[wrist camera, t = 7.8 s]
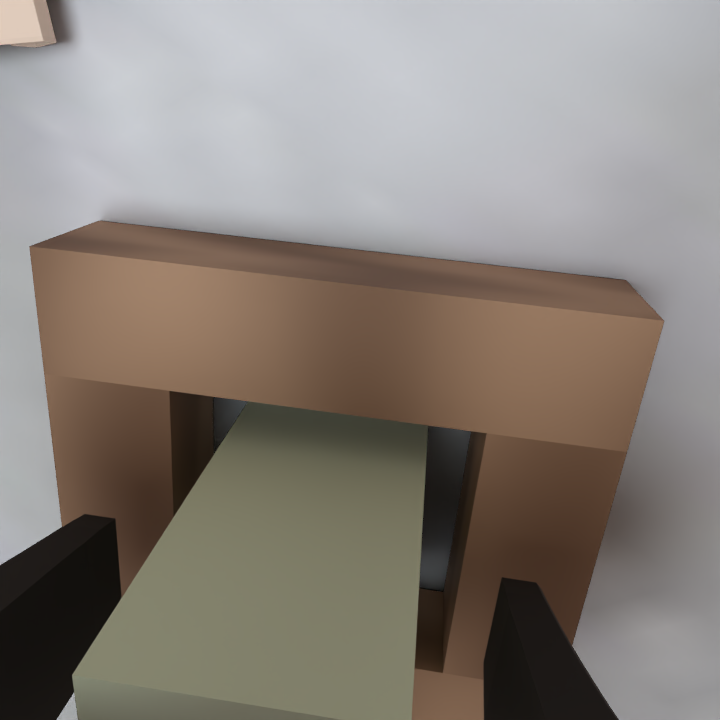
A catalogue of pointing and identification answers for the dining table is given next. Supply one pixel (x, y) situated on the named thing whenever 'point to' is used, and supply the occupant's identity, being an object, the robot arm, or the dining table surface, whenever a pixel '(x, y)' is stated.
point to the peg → (276, 581)
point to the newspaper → (25, 23)
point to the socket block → (350, 397)
